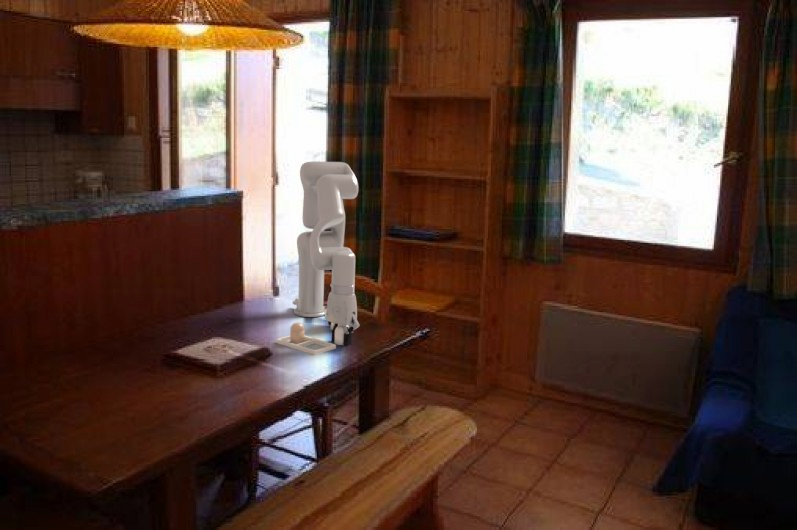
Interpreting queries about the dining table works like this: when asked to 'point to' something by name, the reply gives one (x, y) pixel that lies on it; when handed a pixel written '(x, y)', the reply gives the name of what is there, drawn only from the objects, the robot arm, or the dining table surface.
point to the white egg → (339, 335)
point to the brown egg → (297, 333)
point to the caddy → (308, 342)
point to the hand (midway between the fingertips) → (341, 342)
